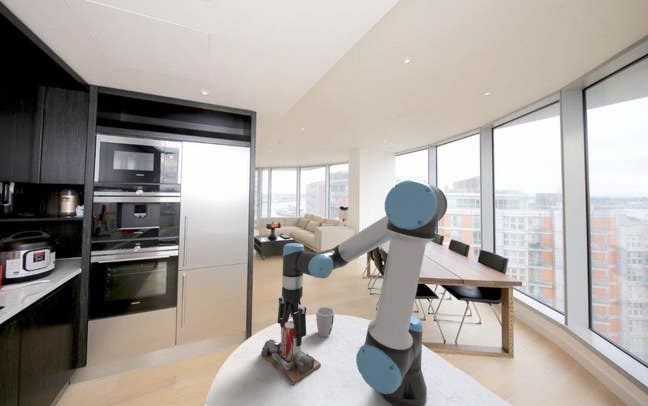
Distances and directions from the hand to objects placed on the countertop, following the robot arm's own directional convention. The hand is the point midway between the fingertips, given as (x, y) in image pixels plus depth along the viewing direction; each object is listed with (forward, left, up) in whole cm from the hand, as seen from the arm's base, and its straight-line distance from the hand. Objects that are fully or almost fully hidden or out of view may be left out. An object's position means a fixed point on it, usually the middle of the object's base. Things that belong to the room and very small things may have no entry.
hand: (290, 348), depth 84 cm
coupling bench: (0, 0, -4) cm, 4 cm away
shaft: (+6, +4, -3) cm, 8 cm away
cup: (+4, -22, -5) cm, 23 cm away
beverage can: (0, 0, -3) cm, 3 cm away
